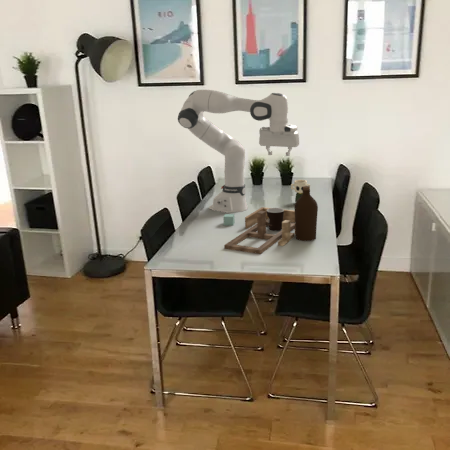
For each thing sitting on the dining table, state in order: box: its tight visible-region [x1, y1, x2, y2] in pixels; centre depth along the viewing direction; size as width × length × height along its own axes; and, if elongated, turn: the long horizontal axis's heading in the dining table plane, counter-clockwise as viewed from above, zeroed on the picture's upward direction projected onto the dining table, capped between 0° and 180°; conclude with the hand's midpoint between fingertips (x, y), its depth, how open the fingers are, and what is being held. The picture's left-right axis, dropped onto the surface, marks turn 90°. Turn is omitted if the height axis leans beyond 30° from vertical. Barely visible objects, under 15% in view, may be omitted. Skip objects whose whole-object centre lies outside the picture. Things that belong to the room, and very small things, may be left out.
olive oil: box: [294, 185, 319, 242], centre depth 237 cm, size 11×11×25 cm
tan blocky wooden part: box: [277, 220, 295, 247], centre depth 236 cm, size 3×14×10 cm, turn 151°
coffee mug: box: [267, 207, 285, 232], centre depth 255 cm, size 12×9×10 cm
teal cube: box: [222, 213, 236, 226], centre depth 266 cm, size 5×5×5 cm
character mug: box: [290, 179, 311, 203], centre depth 299 cm, size 11×7×13 cm, turn 80°
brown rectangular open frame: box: [223, 211, 295, 255], centre depth 241 cm, size 18×41×13 cm, turn 151°
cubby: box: [244, 206, 296, 236], centre depth 259 cm, size 28×20×6 cm
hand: (278, 155), depth 255 cm, fingers open, 8 cm apart
